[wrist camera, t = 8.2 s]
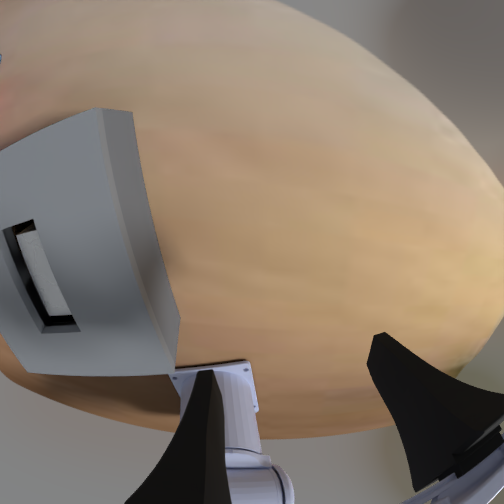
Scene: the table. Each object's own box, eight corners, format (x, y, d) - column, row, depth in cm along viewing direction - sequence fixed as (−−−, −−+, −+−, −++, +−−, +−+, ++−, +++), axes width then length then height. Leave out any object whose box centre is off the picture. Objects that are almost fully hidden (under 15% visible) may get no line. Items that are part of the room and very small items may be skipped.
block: (98, 276, 19) (74, 314, 15) (74, 279, 19) (49, 315, 15) (76, 203, 17) (41, 228, 12) (52, 210, 17) (15, 235, 12)
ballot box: (180, 317, 22) (174, 373, 16) (50, 329, 21) (27, 372, 15) (132, 112, 15) (95, 107, 9) (-9, 170, 14) (-56, 190, 8)
